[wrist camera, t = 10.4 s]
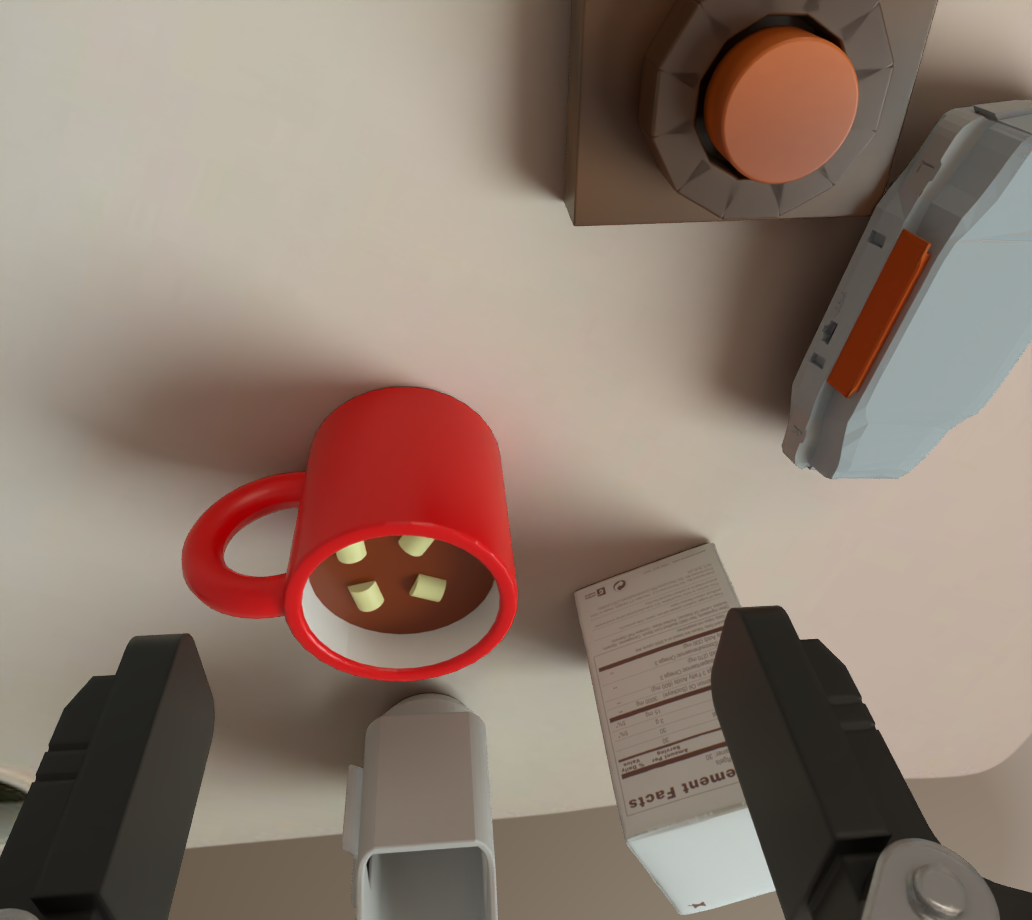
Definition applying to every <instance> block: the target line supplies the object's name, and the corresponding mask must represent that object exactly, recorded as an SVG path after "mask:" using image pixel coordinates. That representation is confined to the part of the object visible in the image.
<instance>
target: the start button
mask: <svg viewBox="0 0 1032 920" xmlns="http://www.w3.org/2000/svg"><path fill="white" fill-rule="evenodd" d="M858 99H859V89H858V80H857V75H856V72H855V69H854V67H853V65H852V63H851V61H850V59H849V58H848V57H847V55H846V54H845V53H844V52H843V51H842V50H841V49H840V48H839V47H838V46H836V45H835V44H833V43H831V42H830V41H827V40H825V39H823V38H821V37H819V36H816V35H814V34H812V33H810V32H808V31H805V30H803V29H800V28H797V27H793V26H784V25H780V26H772V27H767V28H763V29H761V30H758V31H756V32H754V33H752V34H750V35H748V36H746V37H745V38H743V39H742V40H740V41H739V42H738V43H737V44H736V45H734V46H733V47H732V48H731V49H730V50H729V51H728V52H727V53H726V55H725V56H724V57H723V58H722V60H721V61H720V62H719V64H718V65H717V67H716V69H715V71H714V72H713V74H712V76H711V79H710V81H709V84H708V87H707V90H706V94H705V99H704V122H705V127H706V131H707V134H708V136H709V138H710V140H711V142H712V144H713V145H714V147H715V148H716V149H717V150H718V151H719V152H720V153H721V154H722V155H723V156H724V157H725V158H726V159H727V160H728V161H729V162H730V163H731V164H732V165H733V166H734V167H735V168H736V169H737V170H738V171H739V172H740V173H741V174H743V175H744V176H745V177H747V178H749V179H751V180H754V181H757V182H760V183H765V184H782V183H787V182H792V181H795V180H798V179H801V178H803V177H805V176H807V175H809V174H811V173H812V172H814V171H816V170H817V169H819V168H820V167H821V166H822V165H824V164H825V163H826V162H827V161H828V160H829V159H830V158H831V157H832V156H833V155H834V154H835V153H836V152H837V151H838V149H839V148H840V147H841V145H842V144H843V142H844V141H845V139H846V137H847V135H848V134H849V132H850V130H851V127H852V125H853V123H854V119H855V116H856V113H857V107H858Z"/></svg>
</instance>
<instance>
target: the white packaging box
mask: <svg viewBox="0 0 1032 920" xmlns="http://www.w3.org/2000/svg"><path fill="white" fill-rule="evenodd" d="M574 598H575V603H576V607H577V612H578V617H579V622H580V626H581V631H582V635H583V640H584V644H585V649H586V654H587V659H588V664H589V669H590V674H591V679H592V684H593V689H594V694H595V699H596V704H597V709H598V714H599V719H600V724H601V729H602V734H603V739H604V744H605V749H606V754H607V759H608V764H609V769H610V774H611V779H612V784H613V789H614V794H615V798H616V803H617V807H618V811H619V816H620V820H621V825H622V828H623V833H624V838H625V841H626V843H627V845H628V846H629V847H630V849H631V850H632V852H633V853H634V854H635V855H636V857H637V858H638V859H639V861H640V862H641V863H642V865H643V866H644V867H645V869H646V870H647V871H648V873H649V874H650V875H651V877H652V878H653V880H654V882H655V883H656V884H657V885H658V886H659V887H660V888H661V890H662V891H663V892H664V894H665V895H666V897H667V898H668V899H669V901H670V902H671V903H672V905H673V906H674V907H675V909H676V910H677V912H678V913H679V914H681V915H685V914H691V913H696V912H700V911H705V910H709V909H713V908H716V907H720V906H724V905H727V904H730V903H733V902H737V901H741V900H744V899H748V898H751V897H754V896H758V895H761V894H765V893H768V892H771V891H775V890H776V889H775V886H774V884H773V881H772V878H771V875H770V872H769V869H768V866H767V863H766V860H765V857H764V854H763V851H762V848H761V845H760V842H759V839H758V836H757V833H756V830H755V827H754V824H753V821H752V818H751V815H750V812H749V809H748V807H747V804H746V801H745V798H744V795H743V792H742V789H741V786H740V783H739V780H738V777H737V774H736V771H735V768H734V765H733V762H732V759H731V756H730V753H729V750H728V747H727V744H726V741H725V738H724V735H723V732H722V729H721V727H720V724H719V721H718V718H717V715H716V712H715V708H714V704H713V700H712V693H711V670H712V666H713V662H714V659H715V655H716V651H717V648H718V644H719V640H720V637H721V633H722V629H723V626H724V622H725V618H726V615H727V612H728V611H729V609H731V608H738V607H742V605H741V603H740V601H739V599H738V596H737V594H736V592H735V590H734V587H733V585H732V583H731V581H730V578H729V576H728V574H727V572H726V569H725V567H724V565H723V562H722V560H721V558H720V555H719V553H718V551H717V549H716V546H715V544H714V543H707V544H703V545H701V546H699V547H695V548H692V549H689V550H686V551H683V552H681V553H678V554H676V555H673V556H670V557H667V558H664V559H662V560H659V561H656V562H653V563H650V564H648V565H645V566H642V567H639V568H637V569H634V570H631V571H629V572H626V573H623V574H620V575H617V576H615V577H612V578H609V579H607V580H604V581H601V582H599V583H596V584H593V585H591V586H588V587H585V588H583V589H580V590H578V591H576V592H575V593H574Z"/></svg>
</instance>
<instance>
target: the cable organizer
mask: <svg viewBox="0 0 1032 920" xmlns="http://www.w3.org/2000/svg"><path fill="white" fill-rule="evenodd" d="M342 850H343V851H345V852H347V853H349V854H351V855H352V856H353V857H354V859H353V873H352V887H351V903H352V905H353V907H354V908H355V909H356V919H355V920H498V914H497V893H496V871H495V857H494V843H493V829H492V814H491V800H490V786H489V772H488V757H487V743H486V729H485V724H484V722H483V720H482V719H481V718H480V717H479V716H477V715H476V714H475V713H474V712H473V711H472V710H470V709H469V708H468V707H466V706H465V705H464V704H463V703H461V702H459V701H458V700H456V699H454V698H452V697H450V696H446V695H442V694H434V693H427V694H419V695H414V696H411V697H408V698H406V699H404V700H402V701H400V702H399V703H397V704H396V705H395V706H393V707H392V708H391V709H390V710H388V711H387V712H386V713H385V714H384V715H382V716H381V717H379V718H377V719H376V720H374V721H373V722H372V723H371V724H370V725H369V726H368V728H367V730H366V737H365V752H364V767H363V768H361V767H359V766H356V765H352V764H350V765H349V766H348V778H347V790H346V802H345V814H344V826H343V839H342Z"/></svg>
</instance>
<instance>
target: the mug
mask: <svg viewBox="0 0 1032 920" xmlns="http://www.w3.org/2000/svg"><path fill="white" fill-rule="evenodd" d="M290 508H299V511H298V516H297V521H296V526H295V531H294V537H293V542H292V547H291V552H290V557H289V563H288V568H287V573H285V574H281V575H276V576H269V577H253V576H247V575H243V574H239V573H237V572H235V571H233V570H231V569H229V568H228V567H227V566H226V564H225V562H224V558H223V557H224V552H225V549H226V547H227V545H228V543H229V542H230V540H231V539H232V538H233V536H234V535H235V534H236V533H237V532H238V531H240V530H241V529H242V528H244V527H245V526H246V525H248V524H249V523H251V522H253V521H255V520H257V519H259V518H261V517H263V516H265V515H268V514H270V513H273V512H277V511H280V510H285V509H290ZM182 570H183V576H184V579H185V582H186V584H187V585H188V587H189V588H190V590H191V591H192V592H193V593H194V594H195V595H196V596H197V597H198V598H199V599H200V600H201V601H202V602H203V603H204V604H206V605H207V606H209V607H210V608H211V609H214V610H216V611H218V612H220V613H223V614H226V615H230V616H234V617H240V618H252V619H261V618H273V617H280V616H285V619H286V622H287V624H288V626H289V628H290V630H291V632H292V634H293V635H294V637H295V638H296V639H297V640H298V641H299V643H300V644H301V645H302V646H303V647H304V648H305V649H306V650H307V651H308V652H310V653H311V654H312V655H314V656H315V657H316V658H317V659H319V660H320V661H322V662H324V663H326V664H328V665H330V666H332V667H334V668H335V669H337V670H340V671H343V672H346V673H349V674H352V675H354V676H359V677H364V678H369V679H373V680H383V681H396V682H397V681H418V680H423V679H428V678H434V677H439V676H442V675H445V674H448V673H452V672H455V671H458V670H460V669H462V668H464V667H466V666H468V665H470V664H473V663H475V662H476V661H477V660H479V659H480V658H482V657H483V656H485V655H486V654H488V653H489V652H490V651H491V650H492V649H493V648H494V647H495V646H496V645H497V644H498V643H499V642H500V641H502V639H503V638H504V636H505V635H506V633H507V632H508V630H509V629H510V627H511V625H512V622H513V620H514V617H515V614H516V611H517V601H518V590H517V582H516V574H515V567H514V559H513V551H512V543H511V535H510V527H509V519H508V512H507V504H506V496H505V488H504V480H503V472H502V465H501V457H500V452H499V448H498V443H497V441H496V439H495V437H494V435H493V433H492V431H491V429H490V428H489V426H488V425H487V424H486V423H485V421H484V420H483V419H482V418H481V416H480V415H478V414H477V413H476V412H475V411H473V410H472V409H471V408H470V407H469V406H467V405H466V404H464V403H462V402H460V401H458V400H457V399H455V398H453V397H451V396H449V395H446V394H443V393H440V392H437V391H434V390H429V389H422V388H416V387H390V388H385V389H380V390H374V391H370V392H368V393H365V394H362V395H360V396H357V397H354V398H353V399H351V400H349V401H348V402H346V403H344V404H343V405H341V406H339V407H338V408H337V409H336V410H335V411H334V412H333V413H331V414H330V415H329V416H328V417H327V418H326V419H325V420H324V422H323V423H322V425H321V426H320V428H319V429H318V431H317V432H316V434H315V437H314V440H313V442H312V445H311V448H310V454H309V459H308V464H307V469H306V472H290V473H283V474H277V475H273V476H268V477H265V478H262V479H258V480H256V481H253V482H250V483H248V484H245V485H243V486H241V487H239V488H237V489H235V490H233V491H232V492H230V493H228V494H227V495H225V496H224V497H222V498H221V499H219V500H218V501H217V502H215V503H214V504H213V505H212V506H211V507H210V508H209V509H208V510H207V511H206V512H204V514H203V515H202V516H201V517H200V518H199V519H198V520H197V522H196V523H195V524H194V525H193V527H192V528H191V530H190V532H189V533H188V535H187V538H186V540H185V542H184V546H183V550H182Z"/></svg>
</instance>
